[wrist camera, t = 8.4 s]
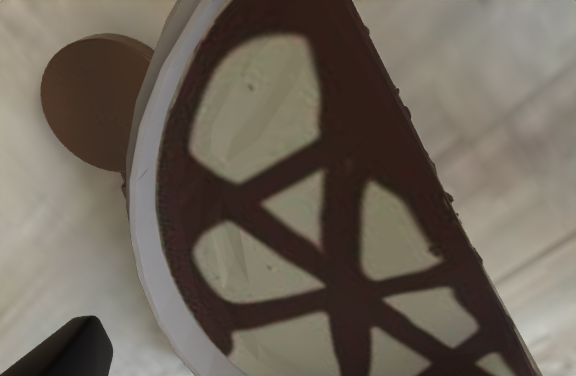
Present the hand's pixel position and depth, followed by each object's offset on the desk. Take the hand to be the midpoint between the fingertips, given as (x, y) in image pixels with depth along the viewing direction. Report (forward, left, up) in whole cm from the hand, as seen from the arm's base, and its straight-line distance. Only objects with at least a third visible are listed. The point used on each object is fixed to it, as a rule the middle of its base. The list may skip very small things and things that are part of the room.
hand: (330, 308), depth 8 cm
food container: (0, 0, -10) cm, 10 cm away
